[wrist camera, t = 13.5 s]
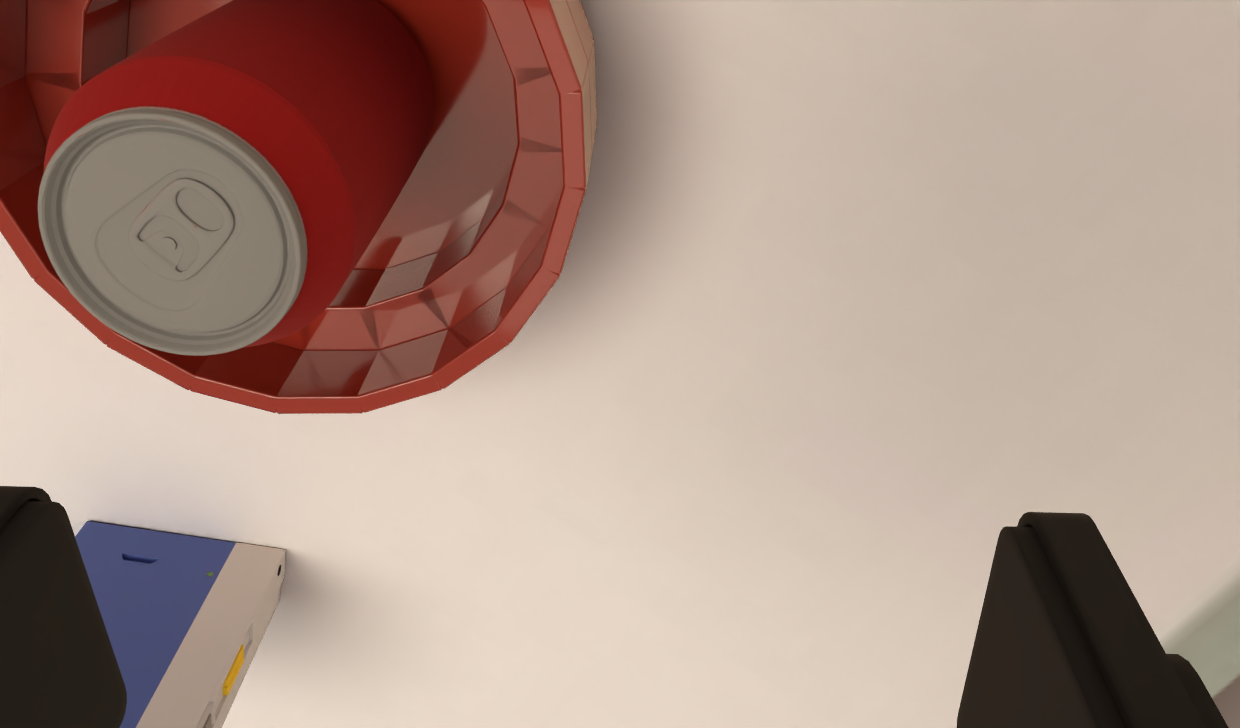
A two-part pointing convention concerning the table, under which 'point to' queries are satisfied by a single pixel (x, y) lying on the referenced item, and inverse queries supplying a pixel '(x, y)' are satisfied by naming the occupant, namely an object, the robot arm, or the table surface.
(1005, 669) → the robot arm
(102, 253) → the beverage can
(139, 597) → the walkman
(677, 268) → the table surface
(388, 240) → the bowl
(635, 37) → the table surface
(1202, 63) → the table surface
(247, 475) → the table surface
